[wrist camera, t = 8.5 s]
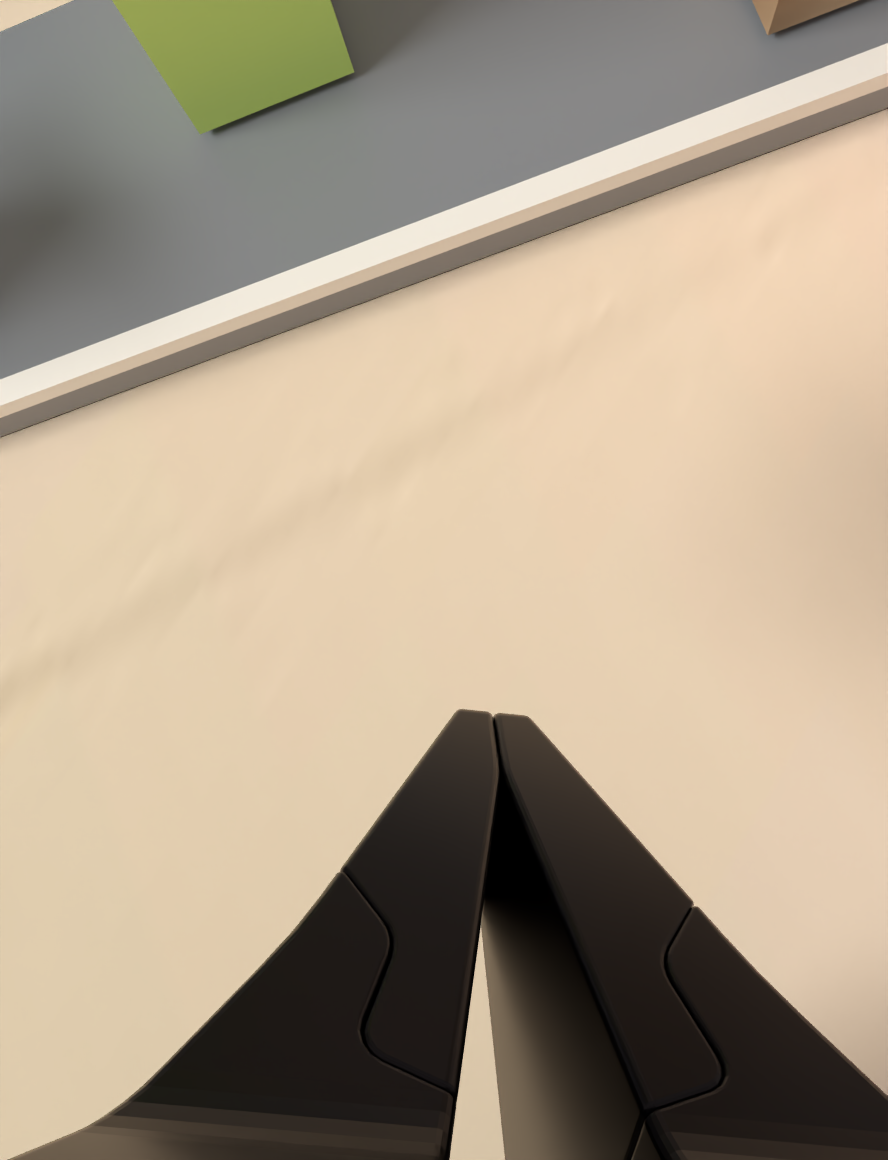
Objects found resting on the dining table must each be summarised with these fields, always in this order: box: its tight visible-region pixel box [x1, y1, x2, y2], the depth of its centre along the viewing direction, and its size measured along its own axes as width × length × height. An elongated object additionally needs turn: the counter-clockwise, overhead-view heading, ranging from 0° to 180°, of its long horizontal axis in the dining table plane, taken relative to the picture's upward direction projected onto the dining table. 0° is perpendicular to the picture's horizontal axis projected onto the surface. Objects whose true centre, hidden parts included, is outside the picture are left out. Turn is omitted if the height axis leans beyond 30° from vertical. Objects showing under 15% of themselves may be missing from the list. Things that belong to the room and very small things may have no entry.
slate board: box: [0, 0, 888, 437], centre depth 24 cm, size 13×40×2 cm, turn 107°
